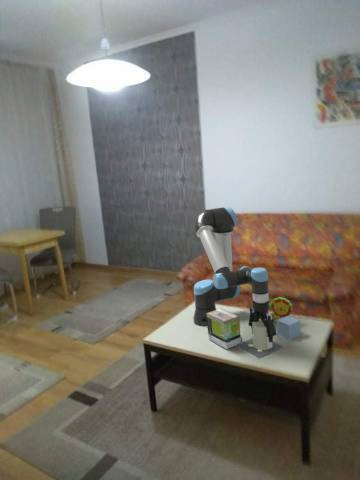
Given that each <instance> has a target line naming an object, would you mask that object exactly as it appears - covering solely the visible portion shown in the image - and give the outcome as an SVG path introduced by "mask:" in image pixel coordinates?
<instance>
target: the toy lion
mask: <svg viewBox="0 0 360 480" xmlns="http://www.w3.org/2000/svg"><path fill="white" fill-rule="evenodd" d="M269 309H270V310H272V311H273V312H271V313H269V314H270V315H273V316H274V318H273V320H274V322H277V320H279V319H281V318H283V317H286V316H289V317H290V315H291V313H292V312H293V304H292V302H291V301H290V300H289V299H287V298H286V297H283V296H282V297H281V296H278V297H275V298H274V299H273V300H272V301H271V303H270V302H269ZM265 320H266V319H265Z"/></svg>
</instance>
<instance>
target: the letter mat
mask: <svg viewBox="0 0 360 480" xmlns="http://www.w3.org/2000/svg"><path fill="white" fill-rule="evenodd" d="M236 346H237V347H238V348H241V349H242V350H244V351H246V352H248V353H249V354H251V355H253V356H255V357H256V358H258V359H261V358H264V357H266V356H268V355H270V354H272V353H273V352H276V351H278V350H281V349H282V348H285V347H284V345H282V344H280V343H278V342H275V341H274V340H273V342H272V348H270V349H268V350H258V349H256V348H254V346H253V337H252V338H250V339H248V340H246V341H243V342H241V343H240V344H238V345H236Z"/></svg>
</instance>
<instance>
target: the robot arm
mask: <svg viewBox="0 0 360 480" xmlns="http://www.w3.org/2000/svg"><path fill="white" fill-rule="evenodd" d="M237 224H238V219H237V215H236V213H235V211H234V209H233V208H231V207H230V206H225V207H216V208H211V209H204V210H202V211H200V212H199V213H198V215H197V216H196V218H195V220H194V231H195V235H196V236H197V237H198V238H199V239H200V242H201V244H202V246H203V248H204V251H205V253H206V255H207V258H208V260H209V263H210V265H211V268H212V269H213V272H214V274H213V278H212V279H203V280H200V281H198V282H196V283H195V284H194V285H193V296H194V306H195V308H194V314H193V323H194V324H195V325H197V326H200V327H201V326H202V327H204V326H205V327H208V325H207V314H206V313H209V312H212V311H215V310H217V308H216V303H218V302H222V301H227V300H232V299H235V298H238V296H239V295H240V293H241V286H244V285H250V286H251V293H252V307H250V308H249V318H248V319H249V320H248V327H251V331H252V332H251V333H252V335H253V327H252V323H253V322H257V321H259V320H262V322H263V323H264V326H265V327H266V331H267V334H268V335H267V349H269V348H272V342H273V341H274V337H275V336H277V329H276V326H275V321H274V320H273V318H274V316H273V315H270V314H271V313H269V309H270V308H269V304H270V301H269V275H268V270H267V269H266V268H264V267H254V268H253V267H251V266H247V265H245V266H242V267H240V268H239V269H236V270H233V254H232V253H233V251H232V249H233V248H232V233H234V228H235V227H236V226H237ZM265 319H266V320H265Z"/></svg>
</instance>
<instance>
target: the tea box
mask: <svg viewBox="0 0 360 480" xmlns="http://www.w3.org/2000/svg"><path fill="white" fill-rule="evenodd" d="M206 314H207V325H208V326H207V335H208V340H210V341H211V342H213V343H215V344H217V345H218V346H220V347H222V348H224V349H226V350H228V349H230V348H233V347H236V346H237V345H238V344H240V343H242V336H241V324H240V322H241V321H240V315H238V314H235V313H232V312H230V311H228V310H226V309H223V308H218V309H216V310H215V311H212V312H209V313H206Z"/></svg>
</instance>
